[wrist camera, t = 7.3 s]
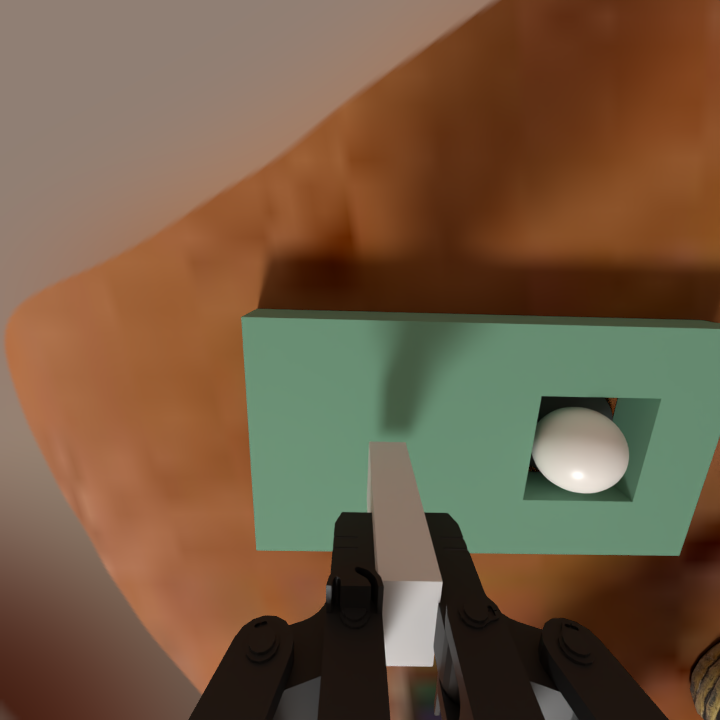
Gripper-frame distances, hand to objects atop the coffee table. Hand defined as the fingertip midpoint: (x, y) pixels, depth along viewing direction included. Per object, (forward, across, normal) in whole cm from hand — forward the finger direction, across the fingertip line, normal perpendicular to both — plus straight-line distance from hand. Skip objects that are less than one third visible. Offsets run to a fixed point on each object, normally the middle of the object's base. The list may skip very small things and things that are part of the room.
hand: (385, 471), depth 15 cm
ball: (+2, -9, 0) cm, 10 cm away
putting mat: (+5, -5, 0) cm, 7 cm away
